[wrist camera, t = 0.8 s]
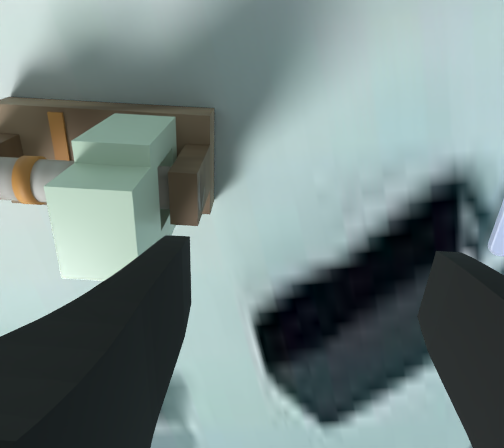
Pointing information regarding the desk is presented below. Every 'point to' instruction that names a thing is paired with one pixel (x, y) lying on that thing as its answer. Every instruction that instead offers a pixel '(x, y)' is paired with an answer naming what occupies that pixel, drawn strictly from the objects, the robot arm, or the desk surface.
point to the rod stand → (81, 120)
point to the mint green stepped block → (111, 195)
